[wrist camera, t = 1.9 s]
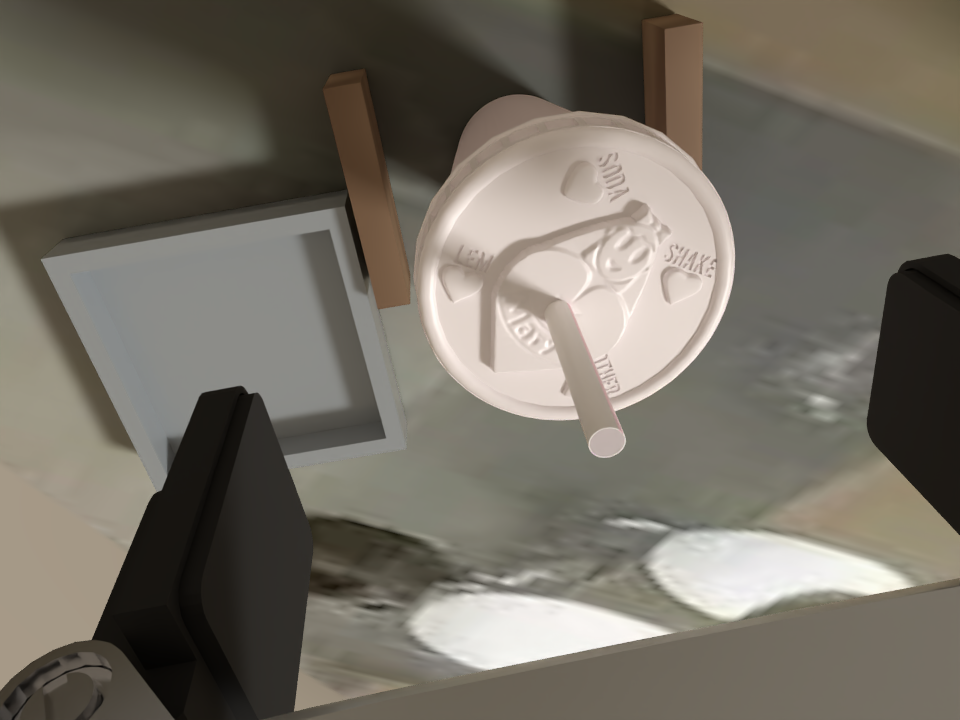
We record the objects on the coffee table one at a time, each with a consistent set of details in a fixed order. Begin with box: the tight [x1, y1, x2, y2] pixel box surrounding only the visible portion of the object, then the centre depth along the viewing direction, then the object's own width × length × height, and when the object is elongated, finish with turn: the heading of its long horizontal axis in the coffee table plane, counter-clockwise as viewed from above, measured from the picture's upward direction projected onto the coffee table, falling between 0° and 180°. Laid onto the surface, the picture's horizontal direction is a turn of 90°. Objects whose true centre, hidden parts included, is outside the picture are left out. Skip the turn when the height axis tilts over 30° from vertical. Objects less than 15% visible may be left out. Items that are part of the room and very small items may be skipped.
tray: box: [41, 190, 407, 491], centre depth 24 cm, size 9×9×2 cm
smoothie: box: [413, 94, 735, 458], centre depth 17 cm, size 6×6×14 cm
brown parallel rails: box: [323, 14, 703, 309], centre depth 22 cm, size 10×6×2 cm, turn 98°
